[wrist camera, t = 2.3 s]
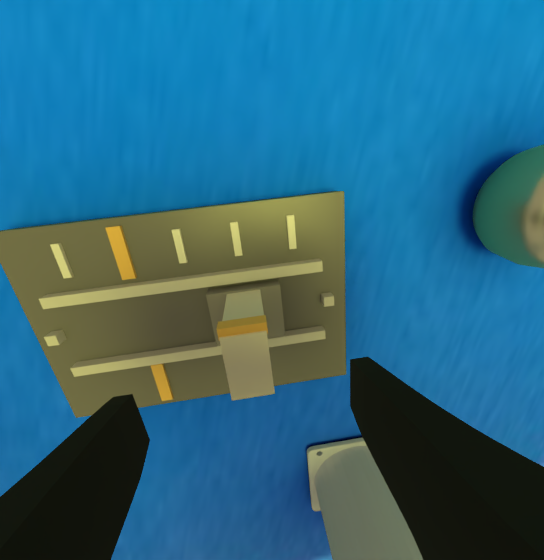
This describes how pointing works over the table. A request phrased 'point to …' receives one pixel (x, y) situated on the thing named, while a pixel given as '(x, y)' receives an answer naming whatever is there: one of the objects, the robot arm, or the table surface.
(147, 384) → the console
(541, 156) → the plastic bottle
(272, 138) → the table surface
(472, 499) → the robot arm
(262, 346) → the fader
